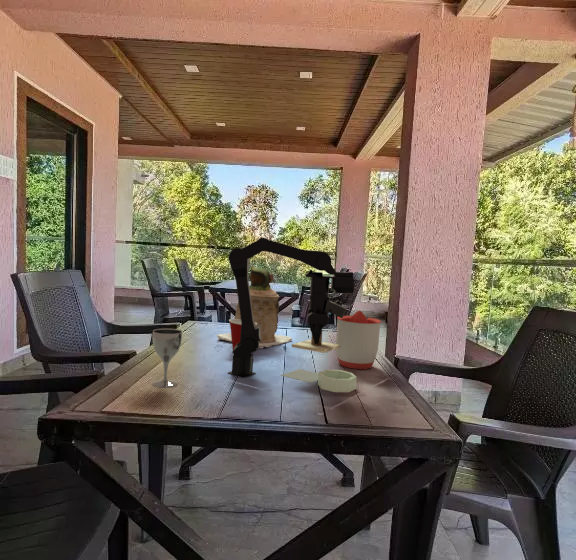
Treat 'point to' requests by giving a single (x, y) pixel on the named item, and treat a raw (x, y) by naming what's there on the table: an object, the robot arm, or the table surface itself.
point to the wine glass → (166, 351)
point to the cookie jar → (262, 309)
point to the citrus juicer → (357, 340)
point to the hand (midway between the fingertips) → (316, 342)
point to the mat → (302, 375)
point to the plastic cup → (235, 331)
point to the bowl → (337, 381)
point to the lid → (316, 345)
